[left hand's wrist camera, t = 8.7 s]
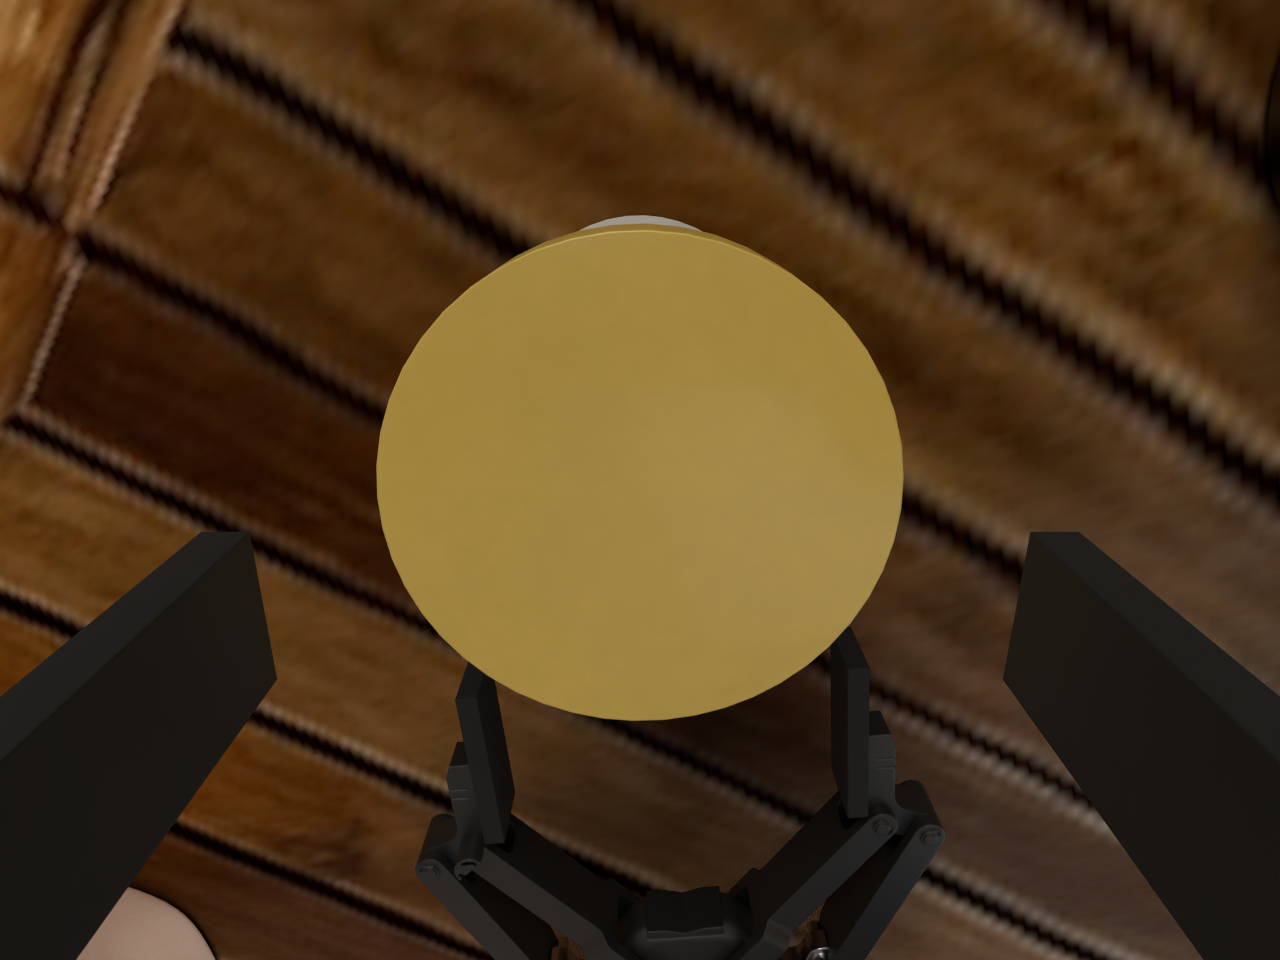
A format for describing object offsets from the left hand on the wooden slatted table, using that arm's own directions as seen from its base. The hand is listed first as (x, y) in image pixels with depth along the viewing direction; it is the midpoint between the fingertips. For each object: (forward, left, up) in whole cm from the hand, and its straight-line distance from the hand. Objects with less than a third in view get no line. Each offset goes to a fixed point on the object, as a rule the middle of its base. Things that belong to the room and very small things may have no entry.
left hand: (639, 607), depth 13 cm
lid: (0, 0, -5) cm, 5 cm away
